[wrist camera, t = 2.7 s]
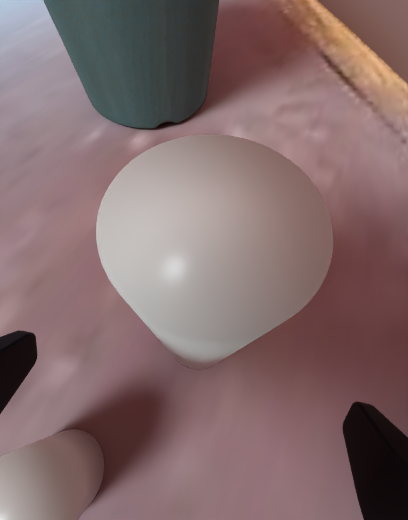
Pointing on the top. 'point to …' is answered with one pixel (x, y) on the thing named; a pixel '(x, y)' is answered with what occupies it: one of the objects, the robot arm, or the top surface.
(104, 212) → the long pin
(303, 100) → the top surface
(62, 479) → the short pin
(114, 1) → the flower pot
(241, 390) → the top surface
